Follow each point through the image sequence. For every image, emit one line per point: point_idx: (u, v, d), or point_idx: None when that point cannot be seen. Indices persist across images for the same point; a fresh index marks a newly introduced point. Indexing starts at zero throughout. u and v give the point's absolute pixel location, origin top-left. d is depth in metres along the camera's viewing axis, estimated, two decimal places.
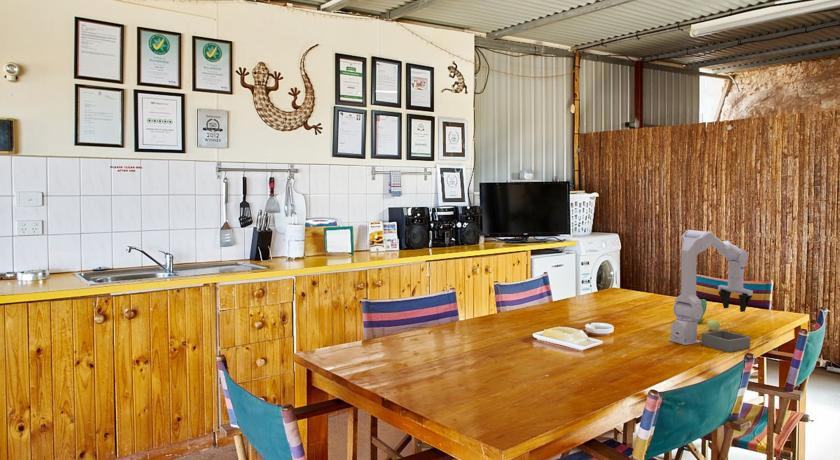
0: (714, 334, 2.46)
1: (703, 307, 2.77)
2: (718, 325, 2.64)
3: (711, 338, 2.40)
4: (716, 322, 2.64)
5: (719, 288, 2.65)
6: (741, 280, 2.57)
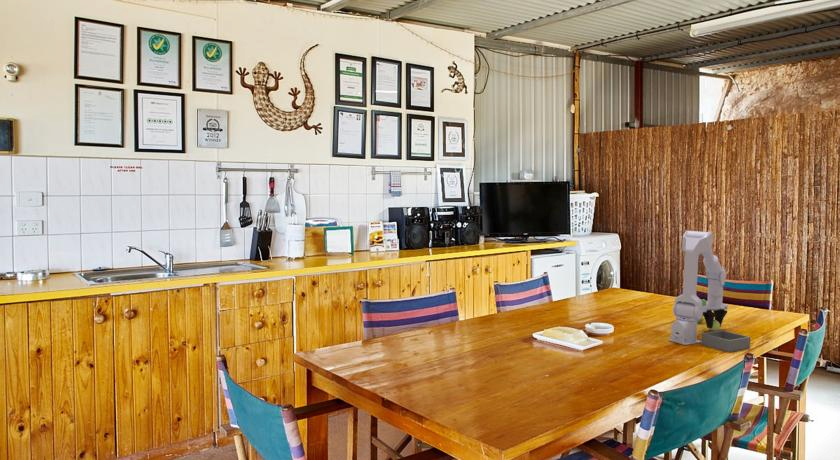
0: (714, 334, 2.46)
1: None
2: (718, 325, 2.64)
3: (711, 338, 2.40)
4: (716, 322, 2.64)
5: None
6: (710, 297, 2.64)
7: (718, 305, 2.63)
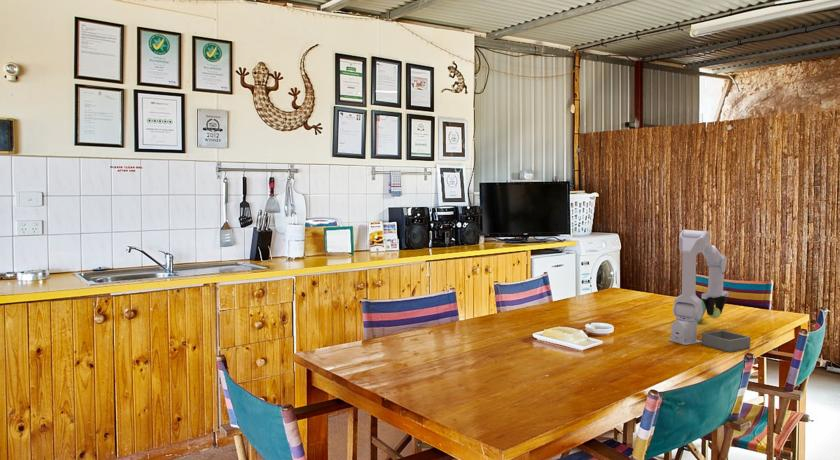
0: (714, 334, 2.46)
1: (703, 307, 2.77)
2: (719, 312, 2.64)
3: (711, 338, 2.40)
4: (716, 309, 2.64)
5: None
6: (710, 285, 2.64)
7: (719, 292, 2.62)
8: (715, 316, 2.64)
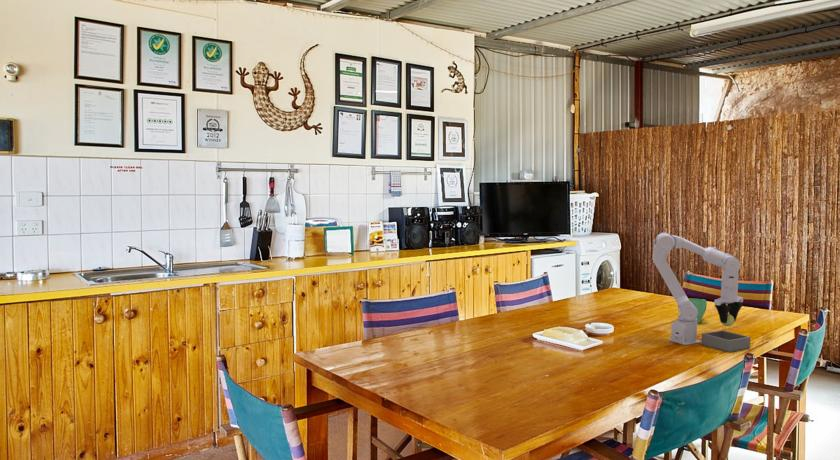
0: (714, 334, 2.46)
1: (703, 307, 2.77)
2: (732, 320, 2.42)
3: (711, 338, 2.40)
4: (729, 316, 2.42)
5: None
6: (724, 289, 2.42)
7: (733, 298, 2.40)
8: (728, 324, 2.42)
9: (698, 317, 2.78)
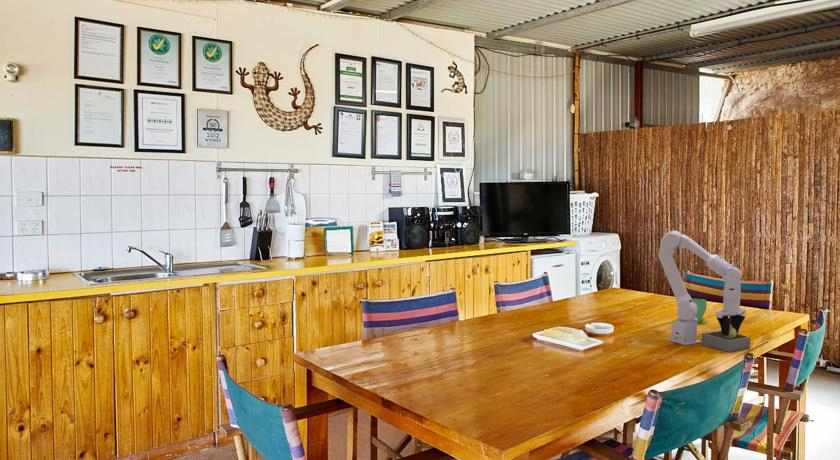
0: (714, 334, 2.46)
1: (703, 307, 2.77)
2: (734, 332, 2.38)
3: (711, 338, 2.40)
4: (731, 329, 2.39)
5: None
6: (726, 302, 2.38)
7: (735, 310, 2.37)
8: (730, 336, 2.39)
9: (698, 317, 2.78)
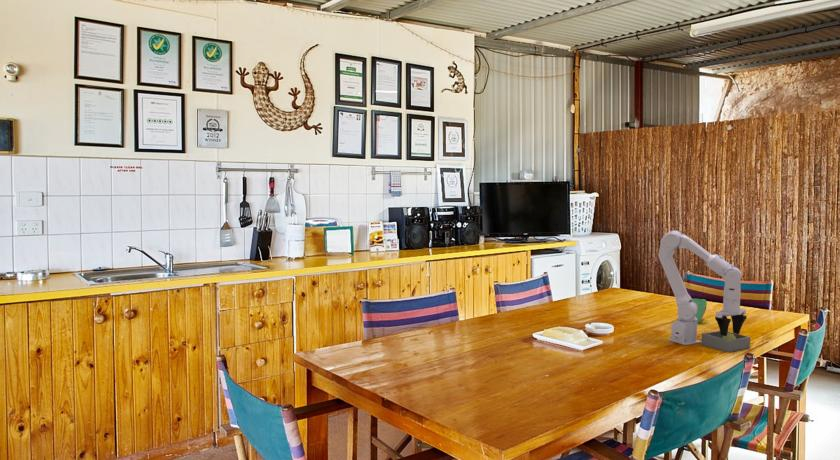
0: (714, 334, 2.46)
1: (703, 307, 2.77)
2: None
3: (711, 338, 2.40)
4: (731, 336, 2.39)
5: None
6: (726, 302, 2.38)
7: (735, 310, 2.37)
8: None
9: (698, 317, 2.78)
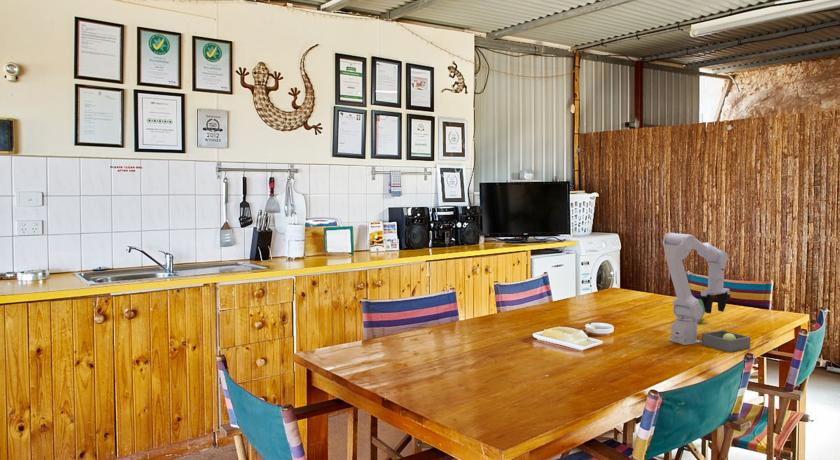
0: (714, 334, 2.46)
1: (703, 307, 2.77)
2: None
3: (711, 338, 2.40)
4: (731, 336, 2.39)
5: None
6: (710, 281, 2.54)
7: (719, 289, 2.53)
8: None
9: None
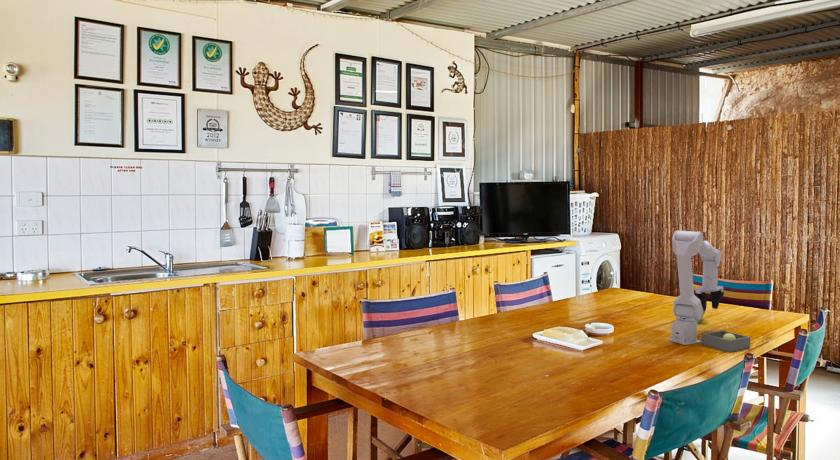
0: (714, 334, 2.46)
1: None
2: None
3: (711, 338, 2.40)
4: (731, 336, 2.39)
5: None
6: (705, 279, 2.60)
7: (713, 287, 2.59)
8: None
9: None
